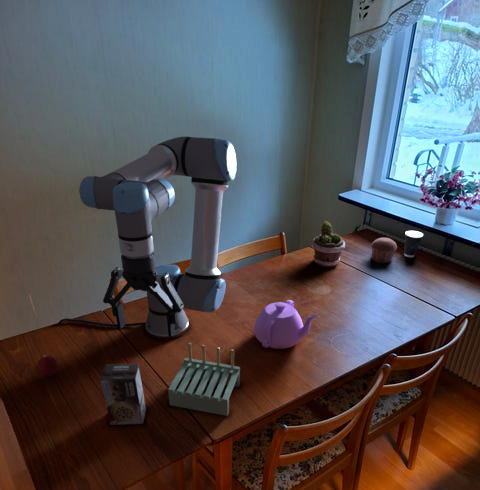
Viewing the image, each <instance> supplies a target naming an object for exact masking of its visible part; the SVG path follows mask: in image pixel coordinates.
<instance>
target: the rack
mask: <svg viewBox="0 0 480 490" xmlns="http://www.w3.org/2000/svg"><path fill="white" fill-rule="evenodd" d="M187 347H188V350H187V351H188V357H184V359H183V362H182V364H181V366H180V368H179V369H178V371H177V373H176V374H175V377H174V378H173V379H172V381H171V383H170V385H169V387H168V389H167V393H168V402H169V403H168V404H169V406H172V407H176V408H177V407H178V408H182V409H183V408H184V409H188V410H193V411H198V412H205V413H209V414H215V415H221V416H225V417H228V416H229V414H230V399H231V395H232V393H233V390H234V388H239V387H240V384H241V366H237V365H235V349H234V348H231V349H230V364H225V363H221V349H220V346H217V347H216V362H213V361H207V359H206V358H207V357H206V356H207V355H206V344H202V345H201V353H202V354H201V355H202V360H201V359H195V358H193V351H192V350H193V349H192V342H188V343H187ZM181 380H182V381H181ZM198 383H199V384H198ZM208 383H209V384H208ZM207 384H208V385H207ZM217 384H218V385H217ZM188 385H189V386H188ZM197 385H198V386H197ZM216 385H217V387H216ZM225 386H226V388H225ZM215 387H216V389H215ZM186 388H187V389H186ZM196 388H197V389H196ZM205 388H206V390H205ZM224 388H225V390H224ZM195 389H196V391H195ZM214 389H215V391H214ZM204 391H205V392H204ZM223 391H224V393H223ZM213 392H214V394H213ZM222 393H223V395H222ZM221 396H222V397H221Z"/></svg>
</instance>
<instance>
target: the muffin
mask: <svg viewBox="0 0 480 490" xmlns="http://www.w3.org/2000/svg"><path fill="white" fill-rule="evenodd" d="M370 246H371V259H372V261H373V262H376V263H380V264H387V263H388V264H389V263H390V262H391V261H392V260H393V258H394V254H395V252H396V250H398V246H397V243H396V242H395V241H394V240H393V239H391V238H389V237H379V238H376V239H375V240H373V242H372V243H371V245H370Z"/></svg>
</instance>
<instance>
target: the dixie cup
mask: <svg viewBox="0 0 480 490" xmlns="http://www.w3.org/2000/svg"><path fill="white" fill-rule="evenodd" d="M404 234H405V238H404V245H403V246H404V247H403V256H404V257H407V258H414V257H415V256H416V255H417V252H418V249H419V246H420V243H421V241H422V238H423V236H424V233H423V232H420V231H417V230H406V231H405V233H404Z"/></svg>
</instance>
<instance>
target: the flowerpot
mask: <svg viewBox="0 0 480 490" xmlns="http://www.w3.org/2000/svg"><path fill="white" fill-rule="evenodd" d="M333 229H334V226H333V223H331V222H330V221H329V219H327V220H323V221H322V224H321V225H319V231H320V234H319V235H317V236H315V237H314V238H313V240H312V242H311V243H312V244H311V245H312V248H313V250H314V251H313V252H314V254H313V260H314V262H315V264H316V265H318V266H319V267H322V268H334V267H336V266H337V265H338V264H339V263H340V261H341V255H342V252H343V251H345V247H346V242H345V241H344V239H342V236H340V234H338V233H337V232H335V233H333Z"/></svg>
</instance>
